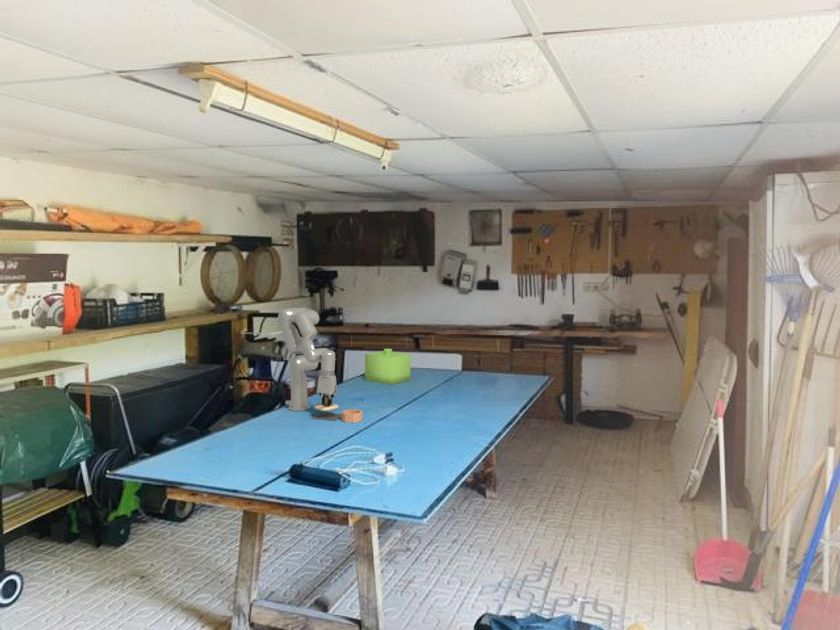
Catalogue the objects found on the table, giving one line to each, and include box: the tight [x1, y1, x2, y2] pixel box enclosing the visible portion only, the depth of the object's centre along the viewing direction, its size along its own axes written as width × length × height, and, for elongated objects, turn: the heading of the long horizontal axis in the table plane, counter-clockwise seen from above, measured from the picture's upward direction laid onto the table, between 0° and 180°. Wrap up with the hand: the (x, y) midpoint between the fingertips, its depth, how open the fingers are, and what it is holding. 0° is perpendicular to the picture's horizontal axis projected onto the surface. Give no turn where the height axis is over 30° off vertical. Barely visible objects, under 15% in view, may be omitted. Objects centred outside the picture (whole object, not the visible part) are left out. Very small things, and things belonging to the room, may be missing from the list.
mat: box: [309, 411, 342, 422], centre depth 366 cm, size 15×15×1 cm
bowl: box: [340, 409, 363, 424], centre depth 359 cm, size 11×11×5 cm
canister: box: [364, 348, 412, 386], centre depth 474 cm, size 25×21×23 cm
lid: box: [314, 394, 339, 412], centre depth 366 cm, size 13×13×7 cm
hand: (326, 404), depth 367 cm, fingers closed on lid, 2 cm apart
